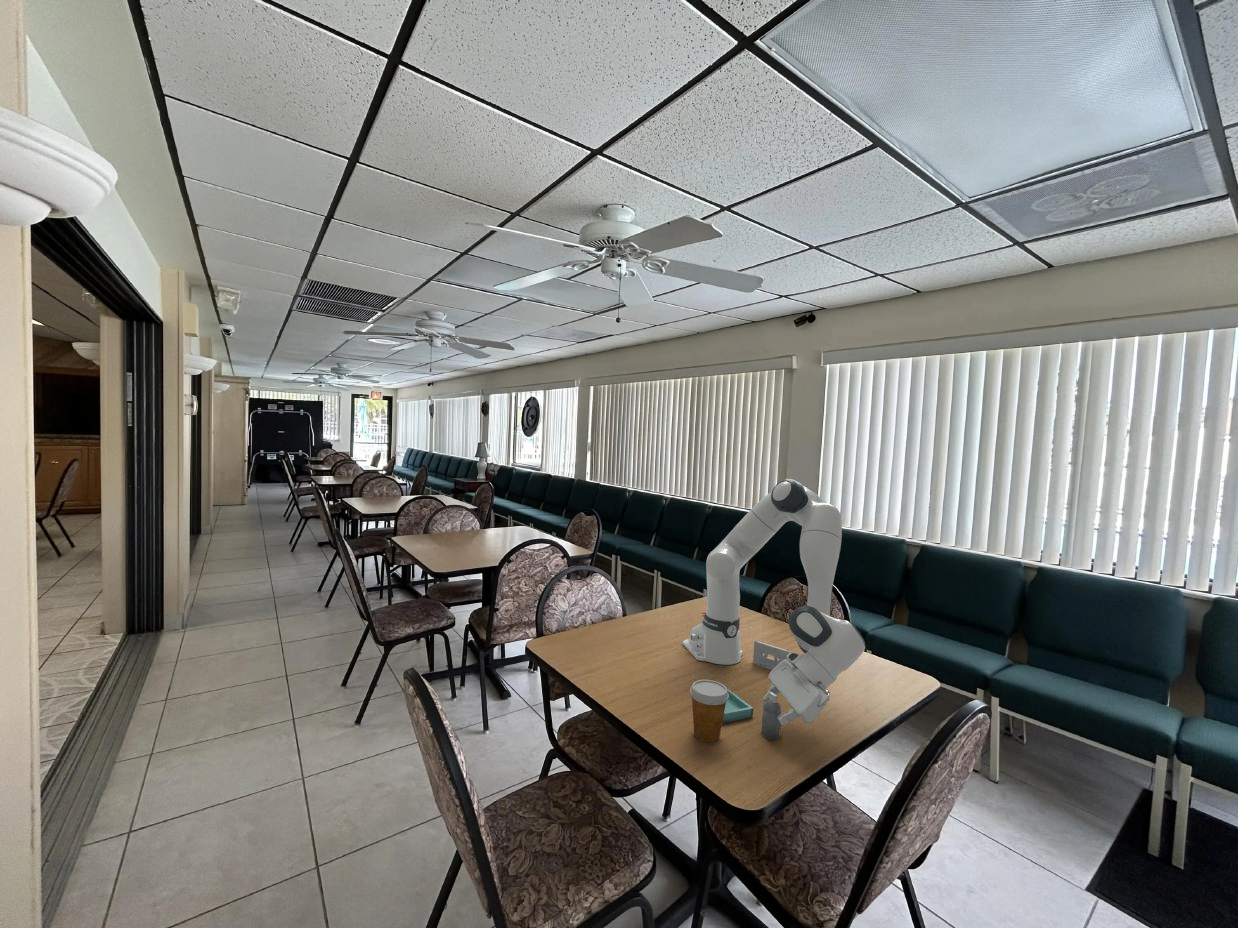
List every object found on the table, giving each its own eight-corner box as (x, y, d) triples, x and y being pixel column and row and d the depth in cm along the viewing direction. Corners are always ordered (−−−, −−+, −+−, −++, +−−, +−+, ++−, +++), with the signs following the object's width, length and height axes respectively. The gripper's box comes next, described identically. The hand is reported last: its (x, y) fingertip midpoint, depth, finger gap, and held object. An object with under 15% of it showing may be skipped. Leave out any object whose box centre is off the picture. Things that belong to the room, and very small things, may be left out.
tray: (696, 701, 141) (697, 692, 141) (725, 695, 145) (726, 687, 145) (722, 723, 130) (722, 714, 130) (752, 716, 134) (753, 708, 134)
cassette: (752, 663, 169) (753, 641, 169) (754, 662, 170) (755, 639, 170) (786, 675, 161) (788, 652, 161) (788, 673, 163) (790, 650, 162)
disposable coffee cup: (720, 725, 129) (723, 679, 129) (730, 746, 120) (733, 697, 119) (684, 723, 129) (687, 677, 128) (691, 745, 119) (694, 696, 119)
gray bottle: (757, 730, 127) (760, 691, 127) (771, 727, 129) (773, 688, 129) (769, 740, 123) (772, 699, 123) (783, 736, 125) (786, 696, 125)
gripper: (841, 704, 116) (798, 744, 116) (802, 665, 137) (765, 699, 136) (824, 685, 116) (781, 726, 115) (787, 649, 136) (750, 683, 136)
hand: (772, 711), depth 126 cm, fingers open, 8 cm apart
